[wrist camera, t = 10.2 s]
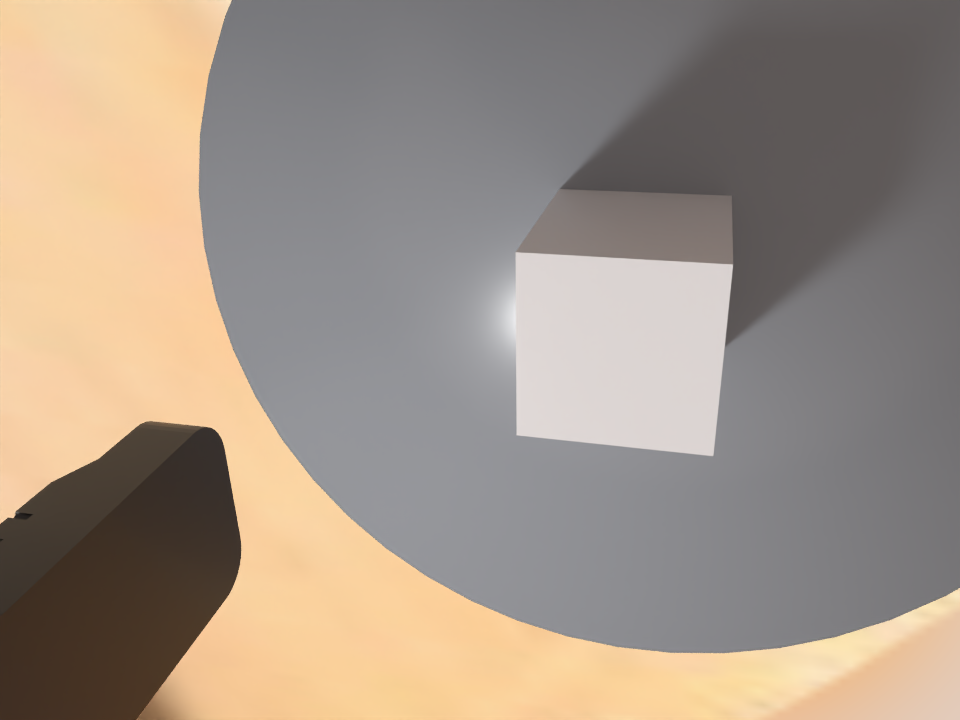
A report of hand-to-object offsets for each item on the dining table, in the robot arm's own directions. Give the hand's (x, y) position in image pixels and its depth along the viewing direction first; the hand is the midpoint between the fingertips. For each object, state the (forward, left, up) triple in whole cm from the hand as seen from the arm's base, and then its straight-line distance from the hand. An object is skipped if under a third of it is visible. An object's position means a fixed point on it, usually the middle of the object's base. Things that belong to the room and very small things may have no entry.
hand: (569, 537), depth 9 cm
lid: (0, 0, -10) cm, 10 cm away
